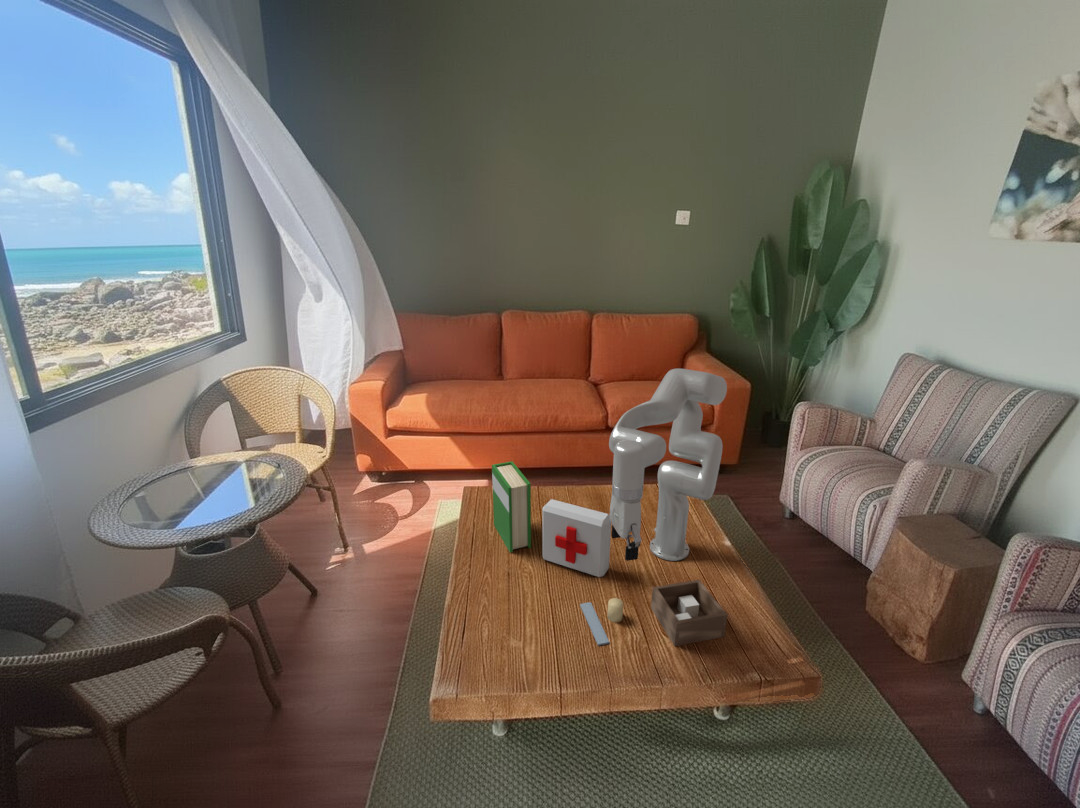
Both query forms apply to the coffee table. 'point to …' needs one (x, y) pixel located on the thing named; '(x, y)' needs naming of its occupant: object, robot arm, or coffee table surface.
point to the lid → (598, 632)
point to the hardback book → (511, 505)
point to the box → (690, 629)
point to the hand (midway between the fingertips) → (624, 547)
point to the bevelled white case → (576, 537)
